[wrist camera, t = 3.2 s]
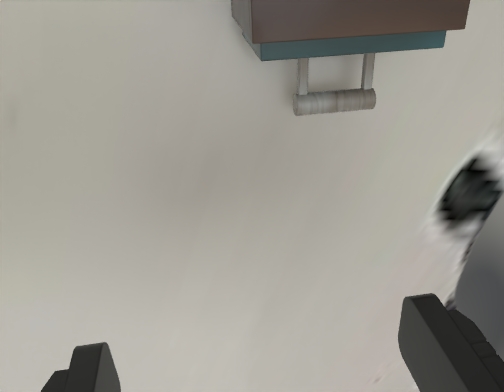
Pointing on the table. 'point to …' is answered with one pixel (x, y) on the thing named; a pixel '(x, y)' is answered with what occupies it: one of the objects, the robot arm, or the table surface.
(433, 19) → the box
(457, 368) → the robot arm
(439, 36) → the drawer
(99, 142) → the table surface
